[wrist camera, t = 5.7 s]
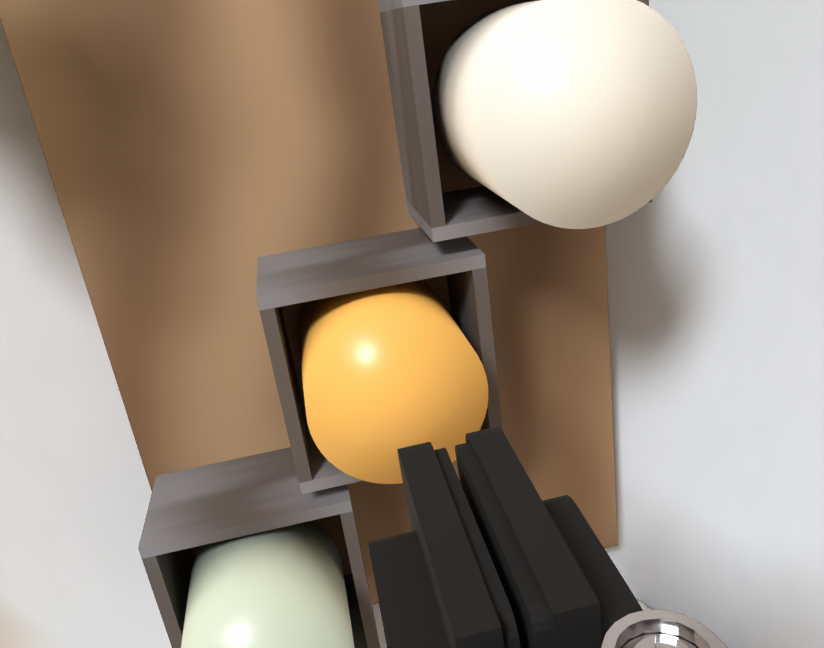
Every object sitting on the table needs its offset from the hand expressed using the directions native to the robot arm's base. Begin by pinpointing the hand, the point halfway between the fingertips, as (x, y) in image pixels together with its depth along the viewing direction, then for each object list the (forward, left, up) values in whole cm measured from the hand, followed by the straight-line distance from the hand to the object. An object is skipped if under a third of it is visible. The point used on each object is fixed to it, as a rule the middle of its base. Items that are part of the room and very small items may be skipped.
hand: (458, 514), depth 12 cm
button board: (0, +2, -15) cm, 15 cm away
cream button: (-5, -5, -11) cm, 13 cm away
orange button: (0, +2, -13) cm, 13 cm away
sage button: (+5, +9, -11) cm, 15 cm away
